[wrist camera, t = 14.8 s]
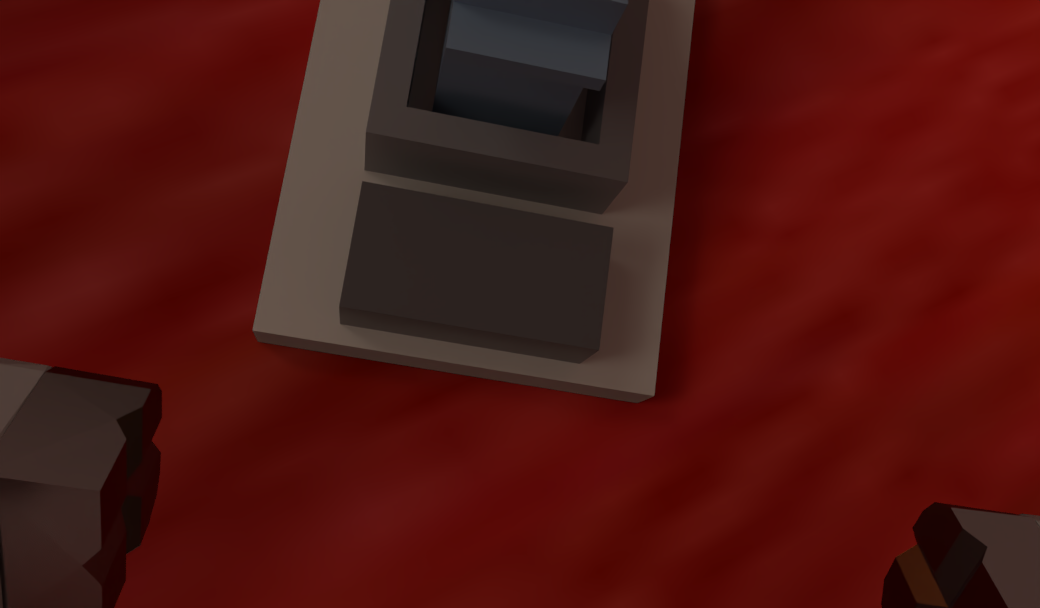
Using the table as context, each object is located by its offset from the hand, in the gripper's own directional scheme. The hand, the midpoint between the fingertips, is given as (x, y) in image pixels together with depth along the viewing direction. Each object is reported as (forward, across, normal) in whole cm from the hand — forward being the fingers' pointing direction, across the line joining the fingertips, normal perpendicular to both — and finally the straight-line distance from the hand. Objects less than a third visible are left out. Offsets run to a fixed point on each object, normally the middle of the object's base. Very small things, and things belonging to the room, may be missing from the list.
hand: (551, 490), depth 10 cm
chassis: (+19, 0, +2) cm, 19 cm away
